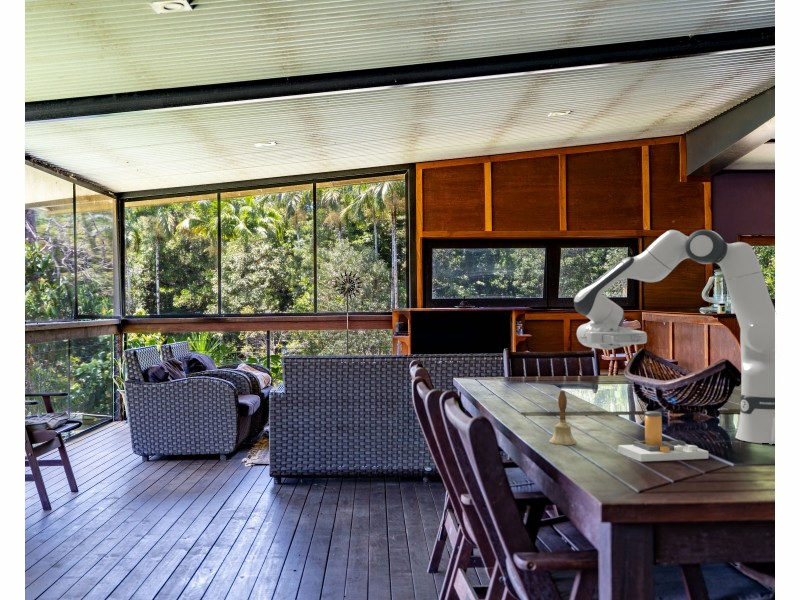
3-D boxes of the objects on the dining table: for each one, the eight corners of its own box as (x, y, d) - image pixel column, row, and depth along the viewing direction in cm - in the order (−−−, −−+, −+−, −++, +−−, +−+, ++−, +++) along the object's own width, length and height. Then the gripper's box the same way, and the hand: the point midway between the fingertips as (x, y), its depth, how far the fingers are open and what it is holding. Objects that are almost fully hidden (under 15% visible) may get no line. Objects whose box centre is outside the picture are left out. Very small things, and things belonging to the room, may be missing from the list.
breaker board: (682, 449, 206) (682, 438, 206) (708, 458, 194) (708, 447, 194) (617, 452, 201) (617, 441, 201) (640, 461, 190) (640, 449, 190)
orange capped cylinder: (655, 445, 201) (655, 410, 201) (665, 448, 197) (664, 413, 197) (642, 446, 200) (641, 411, 200) (651, 449, 196) (650, 414, 196)
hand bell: (557, 445, 210) (557, 393, 210) (544, 440, 218) (544, 389, 218) (581, 444, 212) (582, 392, 212) (568, 439, 220) (568, 388, 220)
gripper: (578, 327, 234) (598, 329, 221) (633, 327, 239) (656, 328, 225) (578, 346, 234) (598, 348, 221) (633, 345, 239) (656, 348, 225)
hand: (628, 338), depth 223 cm, fingers open, 8 cm apart
